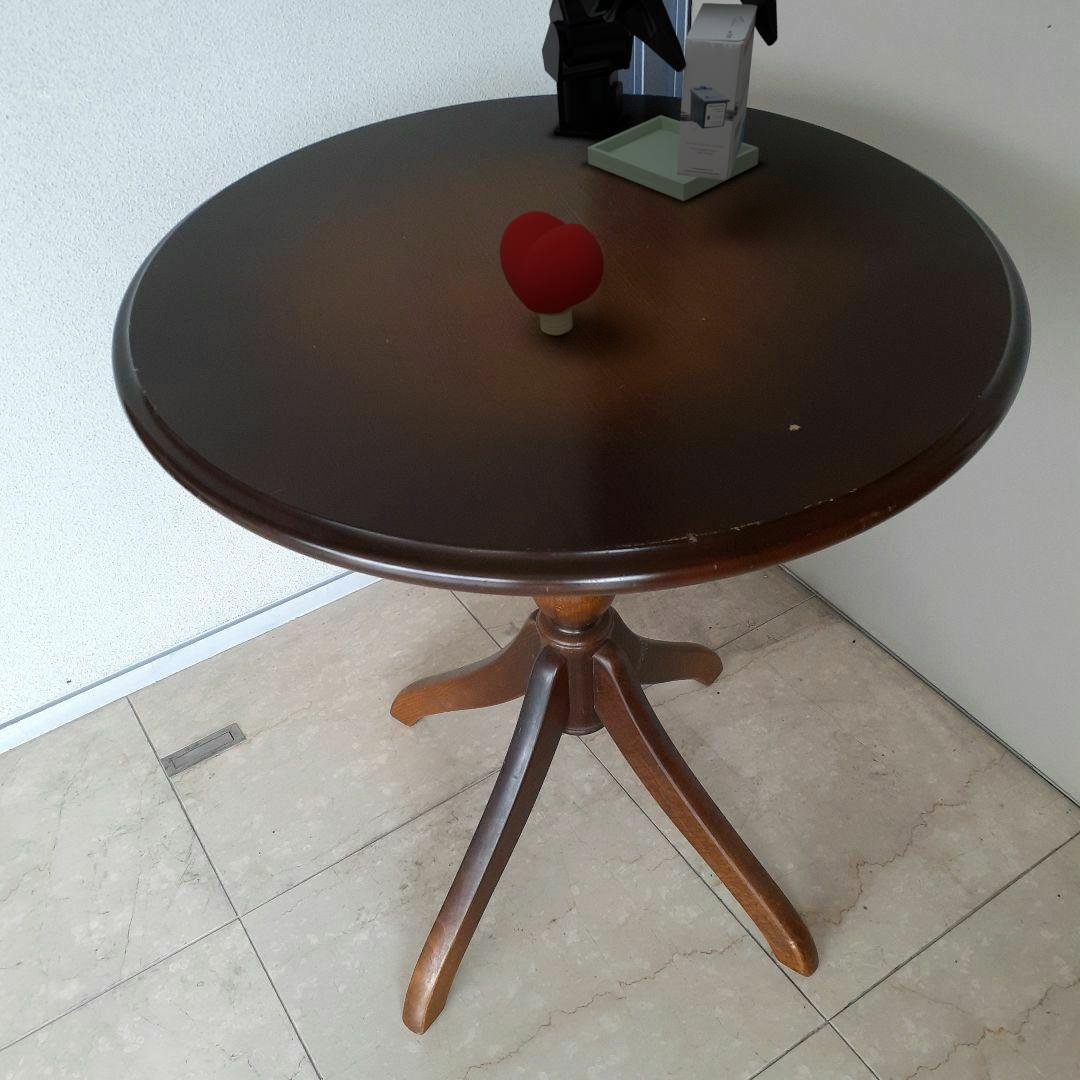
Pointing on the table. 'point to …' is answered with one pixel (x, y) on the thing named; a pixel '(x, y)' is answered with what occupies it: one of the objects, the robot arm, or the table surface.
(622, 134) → the tray
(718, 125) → the ink box
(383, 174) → the table surface
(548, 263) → the red heart on stand
